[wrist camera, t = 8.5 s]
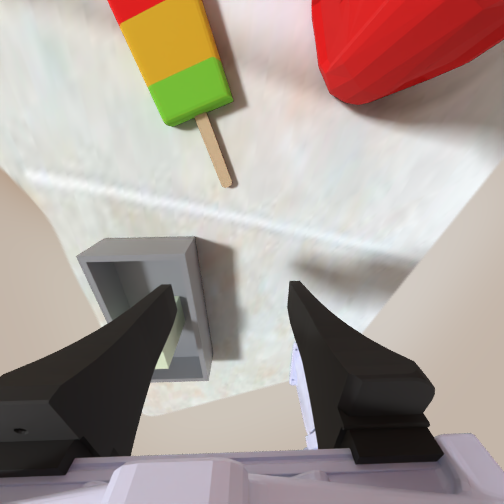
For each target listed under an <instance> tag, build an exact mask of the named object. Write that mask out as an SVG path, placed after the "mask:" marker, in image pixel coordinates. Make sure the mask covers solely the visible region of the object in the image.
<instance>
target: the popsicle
mask: <svg viewBox="0 0 504 504" xmlns="http://www.w3.org/2000/svg"><path fill="white" fill-rule="evenodd" d="M108 3H109V5H110V7H111V9H112V11H113V13H114V16H115V18H116V20H117V22H118V24H119V26H120V29H121V31H122V33H123V35H124V37H125V39H126V42H127V44H128V46H129V48H130V50H131V52H132V55H133V57H134V59H135V61H136V63H137V65H138V67H139V70H140V72H141V74H142V76H143V78H144V80H145V83H146V85H147V87H148V89H149V91H150V93H151V96H152V98H153V100H154V102H155V104H156V106H157V109H158V111H159V113H160V115H161V117H162V119H163V121H164V123H165V124H166V125H168V126H172V127H174V126H176V125H179V124H181V123H183V122H186V121H188V120H190V119H193V118H195V120H196V122H197V125H198V127H199V130H200V133H201V135H202V138H203V140H204V143H205V145H206V148H207V150H208V153H209V155H210V158H211V160H212V163H213V165H214V168H215V170H216V173H217V175H218V178H219V180H220V183H221V185H222V186H223V187H225V188H226V187H229V186H231V184H232V180H231V177H230V175H229V172H228V169H227V167H226V164H225V161H224V159H223V156H222V153H221V150H220V148H219V145H218V142H217V140H216V137H215V134H214V132H213V129H212V126H211V124H210V121H209V118H208V116H207V112H209V111H212V110H214V109H216V108H219V107H221V106H223V105H226V104H228V103H231V102H233V98H232V95H231V91H230V88H229V85H228V82H227V79H226V76H225V72H224V69H223V66H222V63H221V60H220V56H219V53H218V50H217V47H216V44H215V40H214V37H213V34H212V31H211V28H210V25H209V21H208V18H207V15H206V12H205V9H204V5H203V2H202V0H108Z"/></svg>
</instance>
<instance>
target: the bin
mask: <svg viewBox="0 0 504 504" xmlns="http://www.w3.org/2000/svg"><path fill="white" fill-rule="evenodd" d="M76 257H77V259H78V261H79V264H80V266H81V268H82V270H83V272H84V274H85V276H86V278H87V281H88V283H89V285H90V287H91V289H92V291H93V293H94V295H95V298H96V300H97V302H98V304H99V306H100V308H101V310H102V312H103V315H104V317H105V319H106V321H107V323H110V322H111V321H113V320H114V319H116V318H117V317H118V316H120V315H121V314H123V313H124V312H125V311H127V310H128V309H130V308H131V307H132V306H134V305H135V304H136V303H138V302H139V301H140V300H142V299H143V298H144V297H145V296H147V295H148V294H149V293H150V292H152V291H153V290H154V289H156V288H157V287H158V286H160V285H161V284H171V285H172V289H173V294H174V296H179V297H180V301H181V305H182V310H183V314H184V318H185V324H184V327H183V330H182V332H181V335H180V338H179V341H178V344H177V347H176V349H175V352H174V355H173V358H172V361H171V363H170V366H169V369H155V370H154V373H153V376H152V379H151V382H182V381H209V375H210V369H211V363H212V357H213V350H212V343H211V337H210V331H209V324H208V318H207V311H206V305H205V299H204V292H203V286H202V279H201V273H200V266H199V260H198V254H197V247H196V241H195V236H194V237H150V238H105V239H103V240H101V241H99V242H98V243H96V244H95V245H93V246H92V247H90V248H88V249H87V250H85V251H84V252H82V253H80V254H79V255H77V256H76Z"/></svg>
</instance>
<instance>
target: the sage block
mask: <svg viewBox="0 0 504 504" xmlns="http://www.w3.org/2000/svg"><path fill="white" fill-rule="evenodd" d="M174 298H175V302H176V306H177V314H176V317H175V321H174V324H173V327H172V329H171V332H170V334H169V336H168V339H167V341H166V343H165V346H164V348H163V350H162V353H161V355H160V357H159V359H158V362H157V364H156V367H155V369H169V366H170V363H171V361H172V358H173V355H174V352H175V349H176V347H177V344H178V341H179V338H180V335H181V332H182V330H183V327H184V324H185V318H184V314H183V310H182V305H181V301H180V297H179V296H174Z"/></svg>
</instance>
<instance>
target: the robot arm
mask: <svg viewBox="0 0 504 504" xmlns="http://www.w3.org/2000/svg"><path fill="white" fill-rule="evenodd" d="M287 308H288V313H289V319H290V324H291V327H292V330H293V333H294V337H295V340H296V343H295V344H294V345H293V353H292V362H291V371H290V379H289V383H290V385H296V386H297V392H298V396H299V401H300V406H301V411H302V415H303V420H304V425H305V429H306V432H307V434H308V435H307V436H306V442H307V447H306V448H304V449H303V450H288V451H262V452H261V451H259V452H235V453H234V452H233V453H205V454H177V455H150V456H149V455H148V456H131V452H132V448H133V443H134V439H135V435H136V431H137V427H138V424H139V420H140V416H141V413H142V409H143V405H144V402H145V399H146V395H147V392H148V388H149V385H150V382H151V379H152V376H153V373H154V370H155V367H156V364H157V362H158V359H159V357H160V355H161V353H162V350H163V348H164V346H165V343H166V341H167V339H168V336H169V334H170V332H171V329H172V327H173V324H174V321H175V317H176V314H177V306H176V302H175V298H174V294H173V289H172V285H171V284H161V285H160V286H158V287H157V288H156V289H154V290H153V291H152V292H150V293H149V294H148V295H147V296H145V297H144V298H143V299H142V300H140V301H139V302H138V303H136V304H135V305H134V306H132V307H131V308H130V309H128V310H127V311H125V312H124V313H123V314H121V315H120V316H118V317H117V318H116V319H114V320H113V321H111V322H110V323H108V324H106V325H105V326H103V327H102V328H100V329H98V330H97V331H95V332H93V333H91V334H90V335H88V336H86V337H84V338H82V339H81V340H79V341H77V342H75V343H73V344H71V345H69V346H67V347H65V348H63V349H61V350H59V351H57V352H55V353H53V354H50V355H48V356H46V357H44V358H42V359H39V360H37V361H35V362H32V363H30V364H27V365H25V366H23V367H20V368H18V369H15V370H13V371H11V372H8V373H6V374H3V375H2V376H1V377H0V504H504V471H503V470H502V469H501V468H500V466H499V465H498V464H497V463H496V461H495V460H494V459H493V458H492V456H491V455H490V454H489V453H488V451H487V450H486V449H485V448H484V446H483V445H482V444H481V442H480V441H479V440H478V439H477V437H476V436H475V435H473V434H471V433H462V434H442V435H438V436H436V437H433V435H432V434H431V433H430V431H429V429H428V428H427V427H429V426H430V424H429V421H428V420H427V418H426V417H425V415H424V414H423V412H424V411H425V409H426V408H427V406H428V405H429V404H430V402H431V401H432V399H433V397H434V394H435V388H434V386H433V385H432V383H431V382H430V380H429V379H428V378H427V377H426V375H425V374H424V373H423V371H422V370H421V369H420V368H419V367H418V365H417V364H416V363H415V362H414V361H412V360H410V359H408V358H406V357H404V356H401V355H399V354H397V353H395V352H393V351H391V350H389V349H387V348H385V347H383V346H381V345H380V344H378V343H376V342H374V341H372V340H371V339H369V338H367V337H365V336H364V335H362V334H361V333H359V332H358V331H356V330H355V329H353V328H352V327H350V326H349V325H347V324H346V323H345V322H343V321H342V320H340V319H339V318H338V317H337V316H335V315H334V314H333V313H332V312H330V311H329V310H328V309H327V308H326V307H325V306H324V305H323V304H322V303H320V302H319V301H318V300H317V299H316V298H315V297H314V296H313V295H312V294H311V293H310V291H309V290H308V289H307V288H306V287H305V286H304V285H303V284H302V283H301V282H300V281H290V282H289V294H288V306H287Z"/></svg>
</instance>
